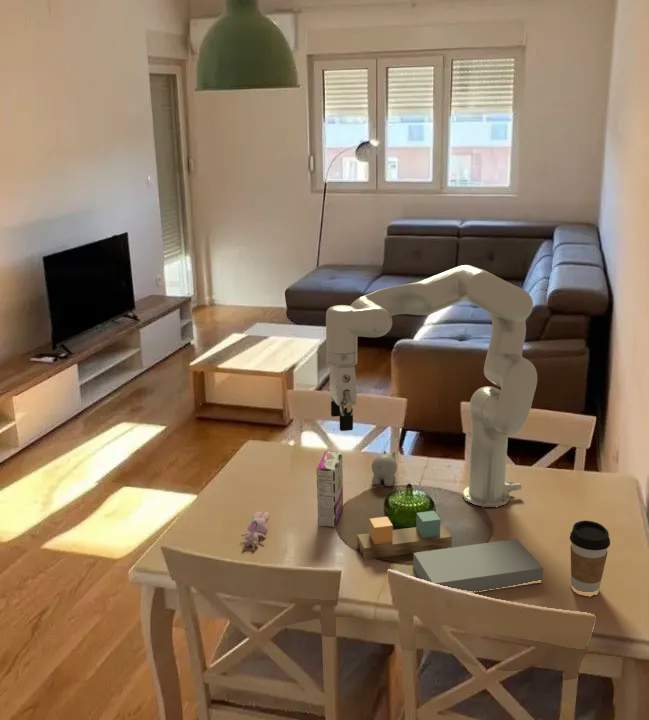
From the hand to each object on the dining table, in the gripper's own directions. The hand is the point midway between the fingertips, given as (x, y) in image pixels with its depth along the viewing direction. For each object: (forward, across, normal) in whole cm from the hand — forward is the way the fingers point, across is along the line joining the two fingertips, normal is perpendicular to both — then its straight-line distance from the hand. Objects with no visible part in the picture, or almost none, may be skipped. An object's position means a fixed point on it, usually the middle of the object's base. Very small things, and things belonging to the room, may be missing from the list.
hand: (341, 422), depth 198 cm
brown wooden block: (+28, -14, -12) cm, 34 cm away
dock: (+28, -30, -25) cm, 48 cm away
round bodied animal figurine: (+28, +23, -18) cm, 41 cm away
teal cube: (+25, -14, -18) cm, 34 cm away
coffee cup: (+28, -41, -46) cm, 67 cm away
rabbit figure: (+28, -1, +22) cm, 36 cm away
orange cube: (+25, -15, -6) cm, 30 cm away
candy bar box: (+28, +4, +2) cm, 29 cm away
